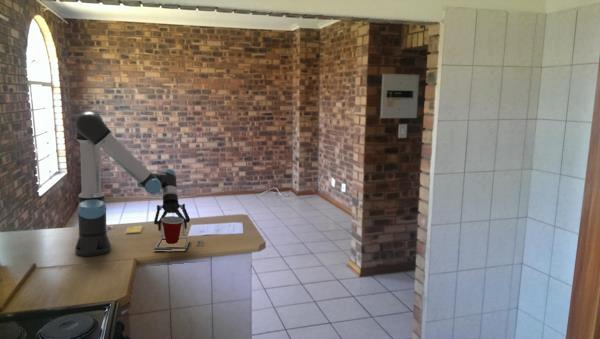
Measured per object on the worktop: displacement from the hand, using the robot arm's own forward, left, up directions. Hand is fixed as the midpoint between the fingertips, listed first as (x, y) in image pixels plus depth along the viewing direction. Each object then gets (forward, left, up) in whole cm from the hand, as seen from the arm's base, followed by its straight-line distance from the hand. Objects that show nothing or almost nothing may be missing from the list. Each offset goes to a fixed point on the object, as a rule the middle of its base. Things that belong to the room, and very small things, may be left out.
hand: (173, 235), depth 205 cm
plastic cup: (-1, +3, -5) cm, 6 cm away
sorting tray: (-1, +3, -7) cm, 7 cm away
